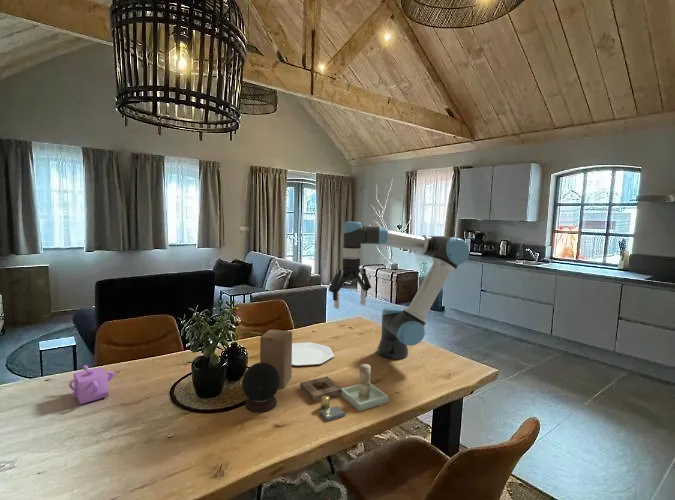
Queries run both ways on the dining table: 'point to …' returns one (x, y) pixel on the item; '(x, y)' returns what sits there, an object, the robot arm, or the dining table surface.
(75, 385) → the teapot
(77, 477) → the dining table surface
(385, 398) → the tray
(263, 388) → the black ball on stand
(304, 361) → the plate
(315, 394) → the socket block
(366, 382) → the dowel
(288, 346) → the wooden block
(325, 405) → the cylinder
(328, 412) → the steel plate
